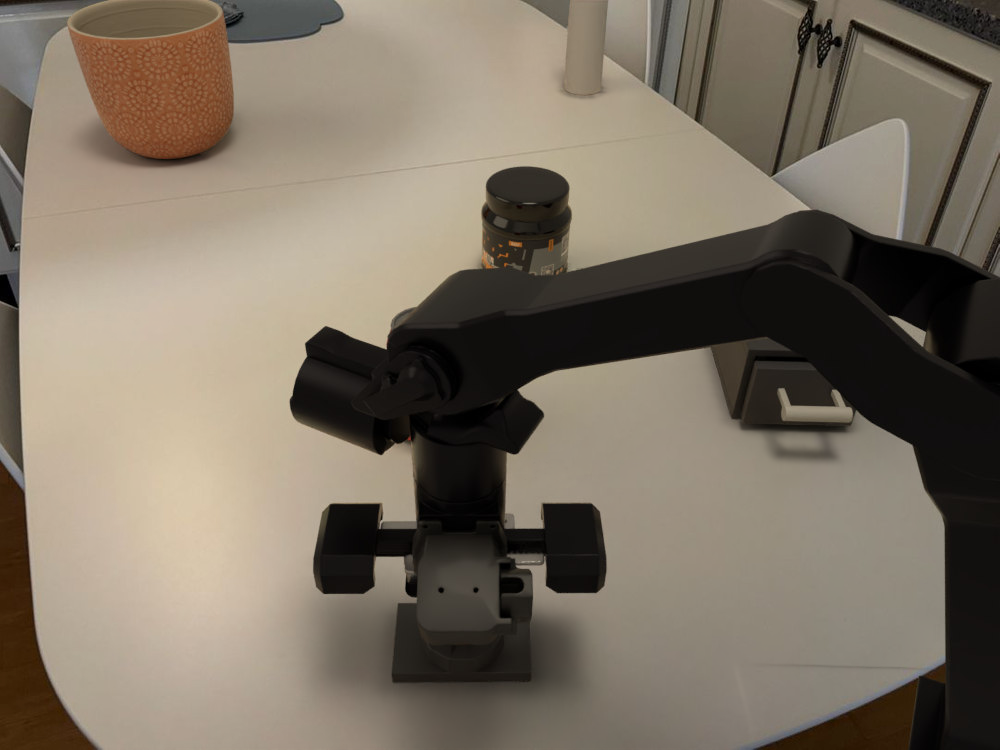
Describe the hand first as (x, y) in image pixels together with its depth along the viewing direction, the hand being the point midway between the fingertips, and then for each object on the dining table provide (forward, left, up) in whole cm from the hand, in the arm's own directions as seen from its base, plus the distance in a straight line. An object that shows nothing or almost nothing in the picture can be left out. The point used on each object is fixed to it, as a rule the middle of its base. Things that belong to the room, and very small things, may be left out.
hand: (462, 620), depth 62 cm
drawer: (-9, -41, -2) cm, 42 cm away
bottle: (+53, -102, -3) cm, 115 cm away
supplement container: (+26, -45, -3) cm, 52 cm away
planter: (+90, -43, -3) cm, 100 cm away
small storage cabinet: (-7, -44, -3) cm, 45 cm away
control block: (0, 0, -3) cm, 3 cm away
